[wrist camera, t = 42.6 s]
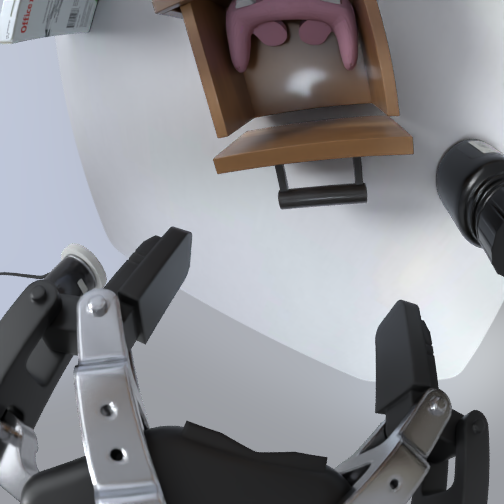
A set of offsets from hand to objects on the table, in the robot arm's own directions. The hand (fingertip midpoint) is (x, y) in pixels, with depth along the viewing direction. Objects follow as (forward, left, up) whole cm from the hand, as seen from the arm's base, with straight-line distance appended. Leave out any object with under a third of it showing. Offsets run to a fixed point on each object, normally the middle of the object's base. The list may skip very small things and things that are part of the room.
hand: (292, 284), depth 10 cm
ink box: (-22, +26, -20) cm, 39 cm away
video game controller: (0, +10, -17) cm, 20 cm away
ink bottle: (+16, -4, -20) cm, 26 cm away
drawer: (0, +6, -19) cm, 20 cm away
